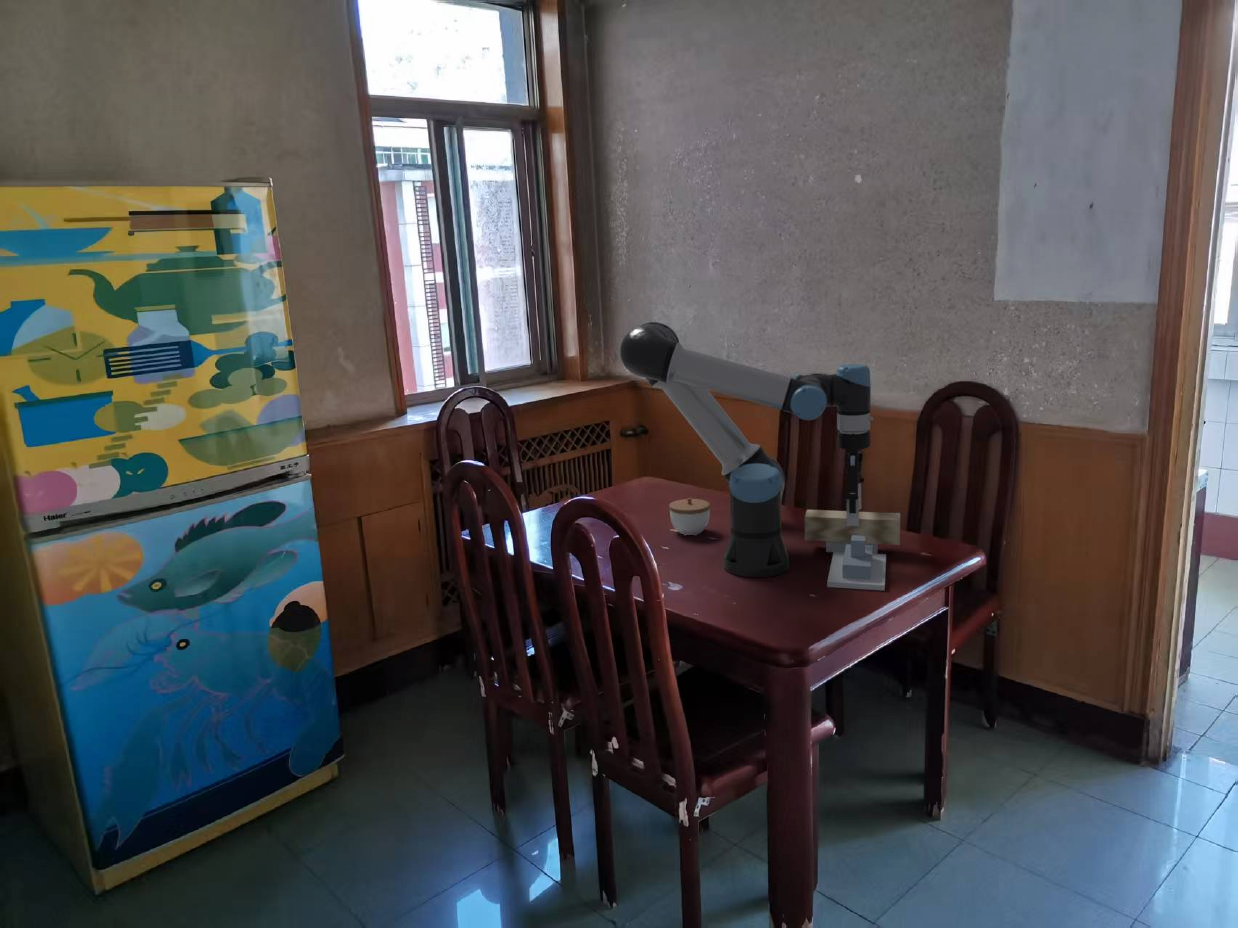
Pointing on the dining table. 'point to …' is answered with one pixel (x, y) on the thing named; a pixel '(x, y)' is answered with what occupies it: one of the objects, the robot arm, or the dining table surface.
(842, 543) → the slab
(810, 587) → the dining table surface
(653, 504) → the dining table surface
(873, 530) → the pine batten
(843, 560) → the fulcrum stand
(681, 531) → the lidded jar
